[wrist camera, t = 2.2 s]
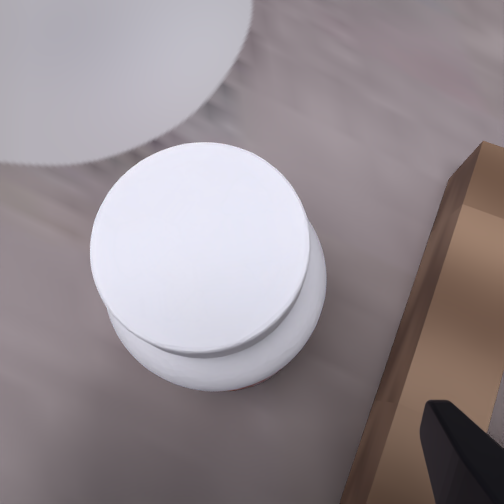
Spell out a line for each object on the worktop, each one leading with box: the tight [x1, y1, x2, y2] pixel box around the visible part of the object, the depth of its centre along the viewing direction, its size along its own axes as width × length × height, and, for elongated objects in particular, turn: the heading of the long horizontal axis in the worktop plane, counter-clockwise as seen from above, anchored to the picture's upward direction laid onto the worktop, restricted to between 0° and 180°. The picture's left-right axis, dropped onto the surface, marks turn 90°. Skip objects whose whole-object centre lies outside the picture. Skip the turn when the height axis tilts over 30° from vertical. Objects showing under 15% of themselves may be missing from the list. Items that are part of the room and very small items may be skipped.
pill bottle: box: [90, 142, 327, 392], centre depth 15 cm, size 6×6×11 cm
